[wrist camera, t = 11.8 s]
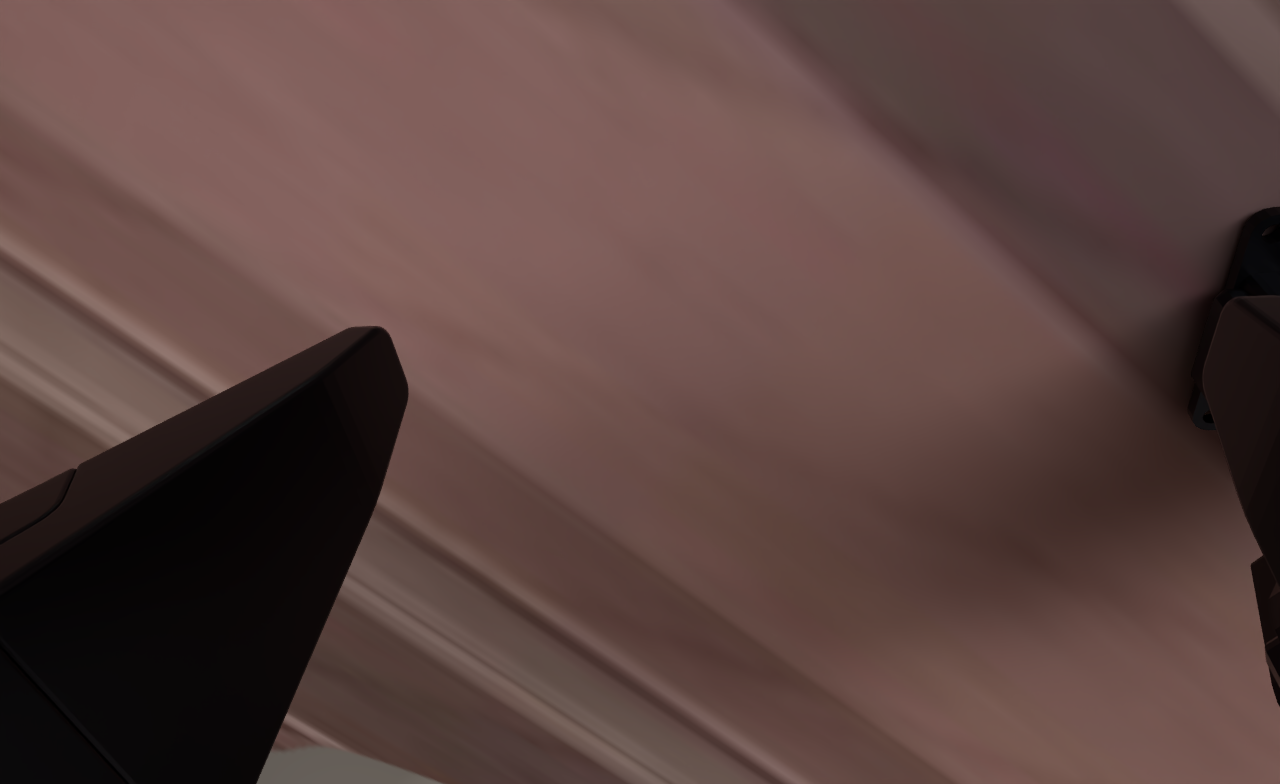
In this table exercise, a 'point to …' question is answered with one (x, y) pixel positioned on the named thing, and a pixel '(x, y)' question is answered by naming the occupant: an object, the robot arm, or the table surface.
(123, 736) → the robot arm
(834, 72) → the table surface
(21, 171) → the table surface
